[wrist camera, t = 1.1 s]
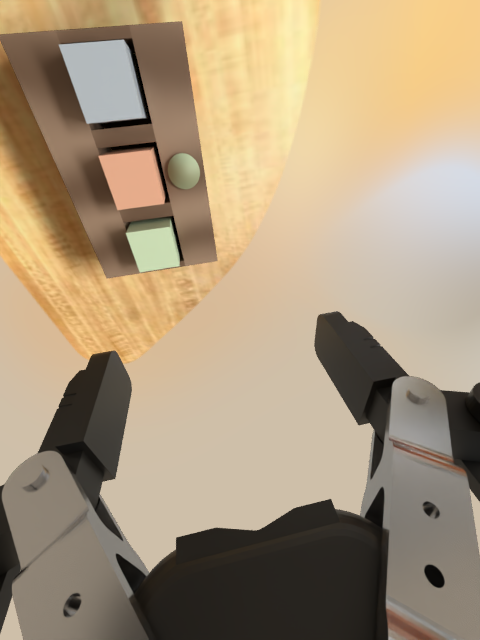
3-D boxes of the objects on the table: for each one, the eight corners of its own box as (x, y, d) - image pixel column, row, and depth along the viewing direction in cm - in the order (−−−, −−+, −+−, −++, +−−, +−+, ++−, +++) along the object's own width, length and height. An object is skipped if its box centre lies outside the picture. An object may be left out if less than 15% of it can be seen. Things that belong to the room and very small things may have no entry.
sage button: (132, 218, 27) (125, 233, 24) (171, 213, 28) (169, 226, 24) (144, 254, 30) (139, 272, 26) (179, 249, 30) (179, 266, 27)
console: (31, 51, 21) (-5, 33, 17) (181, 39, 22) (182, 20, 18) (115, 259, 32) (106, 279, 28) (212, 244, 33) (217, 262, 29)
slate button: (79, 58, 20) (58, 44, 17) (133, 53, 20) (123, 39, 17) (101, 123, 22) (86, 123, 19) (148, 118, 23) (142, 117, 19)
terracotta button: (110, 151, 24) (98, 156, 20) (154, 145, 24) (150, 149, 21) (125, 198, 26) (117, 210, 23) (166, 192, 27) (164, 203, 23)
